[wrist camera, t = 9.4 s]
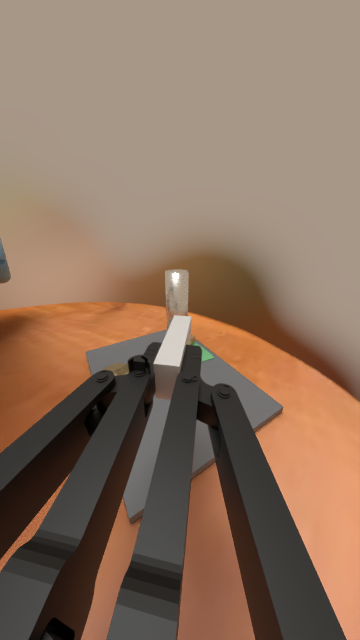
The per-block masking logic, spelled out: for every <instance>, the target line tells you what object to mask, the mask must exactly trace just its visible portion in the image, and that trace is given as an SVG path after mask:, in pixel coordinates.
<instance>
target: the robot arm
mask: <svg viewBox="0 0 360 640" xmlns="http://www.w3.org/2000/svg"><path fill="white" fill-rule="evenodd" d="M10 278H11V276H10V271H9V267H8V264H7V260H6V256H5V253H4V249H3V246H2V242H1V239H0V283H6V282H8V281H9V280H10ZM190 340H191V317H190V316H176V315H174V317H173V320H172V322H171V324H170V326H169V329H168V331H167V333H166V336H165V338H164V340H163V342H162V343H159V342H152V343H151V344H150V345H148V347H147V349H146V351H145V353H144V354H143V355H135V356H133V357H131V358H129V359H128V367H129V373H128V374H124V375H117V376H115V375H114V373H113V372H112V371H110V370H101V371H99V372H96V373H95V374H93V375H92V376H91V377H90V378H89V379H87V380H86V381H85V382H84V383H83V384H82V385H80V386H79V387H78V388H77V389H76V390H74V391H73V392H72V393H71V394H70V395H69V396H67V397H66V398H65V399H64V400H63V401H61V402H60V403H59V404H58V405H57V406H56V407H54V408H53V409H52V410H51V411H50V412H48V413H47V414H46V415H45V416H44V417H43V418H41V419H40V420H39V421H38V422H37V423H35V424H34V425H33V426H32V427H31V428H30V429H28V430H27V431H26V432H25V433H24V434H22V435H21V436H20V437H19V438H18V439H17V440H15V441H14V442H13V443H12V444H11V445H9V446H8V447H7V448H6V449H5V450H4V451H2V452H1V453H0V559H1V558H2V557H3V556H4V554H5V553H6V552H7V551H8V549H9V548H10V547H11V546H12V544H13V543H14V542H15V541H16V539H17V538H18V537H19V536H20V534H21V533H22V532H23V531H24V529H25V528H26V527H27V526H28V525H29V523H30V522H31V521H32V520H33V518H34V517H35V516H36V515H37V513H38V512H39V511H40V510H41V508H42V507H43V506H44V505H45V503H46V502H47V501H48V500H49V498H50V497H51V496H52V495H53V493H54V492H55V491H56V490H57V488H58V487H59V486H60V485H61V483H62V482H63V481H64V480H65V478H66V477H67V476H68V475H69V473H70V472H71V471H72V472H71V473H70V475H69V477H68V479H67V480H66V482H65V484H64V486H63V487H62V489H61V491H60V492H59V494H58V496H57V498H56V499H55V501H54V503H53V505H52V506H51V508H50V510H49V512H48V513H47V515H46V517H45V519H44V520H43V522H42V524H41V525H40V527H39V529H38V530H37V532H36V534H35V535H34V536H33V537H32V539H31V540H30V541H28V542H27V543H25V544H24V545H22V546H21V547H19V548H18V549H17V551H16V552H15V553H14V554H13V555H12V556H11V557H10V559H9V560H8V562H7V563H6V565H5V566H4V567H3V569H2V570H1V572H0V640H81V637H82V634H83V630H84V627H85V624H86V621H87V618H88V614H89V611H90V608H91V604H92V599H93V595H94V587H95V581H96V576H97V573H98V570H99V567H100V564H101V561H102V558H103V555H104V552H105V549H106V546H107V543H108V540H109V537H110V534H111V531H112V528H113V525H114V522H115V519H116V516H117V512H118V509H119V506H120V503H121V500H122V497H123V494H124V491H125V488H126V485H127V482H128V479H129V476H130V473H131V470H132V467H133V464H134V461H135V458H136V455H137V452H138V449H139V446H140V443H141V440H142V437H143V434H144V431H145V428H146V425H147V422H148V419H149V416H150V413H151V410H152V407H153V397H154V394H155V397H156V398H159V399H166V400H171V402H170V406H169V410H168V414H167V418H166V422H165V426H164V430H163V434H162V438H161V442H160V446H159V450H158V454H157V459H156V463H155V467H154V471H153V475H152V479H151V483H150V487H149V491H148V495H147V499H146V503H145V507H144V511H143V515H142V519H141V523H140V527H139V532H138V536H137V540H136V544H135V548H134V552H133V556H132V559H131V562H130V565H129V568H128V570H127V572H126V574H125V576H124V579H123V582H122V585H121V587H120V591H119V594H118V598H117V602H116V605H115V609H114V613H113V617H112V621H111V624H110V628H109V632H108V636H107V640H177V637H178V625H179V613H180V601H181V590H182V579H183V567H184V556H185V545H186V533H187V522H188V511H189V500H190V488H191V477H192V466H193V454H194V443H195V432H196V421H197V420H199V421H201V422H203V423H205V424H207V425H208V430H209V434H210V439H211V443H212V448H213V452H214V457H215V461H216V466H217V470H218V474H219V479H220V483H221V488H222V492H223V497H224V501H225V506H226V510H227V515H228V519H229V523H230V528H231V532H232V537H233V541H234V546H235V550H236V555H237V559H238V564H239V568H240V572H241V577H242V581H243V586H244V590H245V595H246V599H247V604H248V608H249V613H250V617H251V621H252V626H253V630H254V635H255V639H256V640H346V637H345V635H344V633H343V631H342V628H341V626H340V624H339V622H338V619H337V617H336V615H335V613H334V610H333V608H332V606H331V604H330V601H329V599H328V597H327V595H326V592H325V590H324V588H323V586H322V583H321V581H320V579H319V577H318V574H317V572H316V570H315V568H314V565H313V563H312V561H311V559H310V556H309V554H308V552H307V550H306V547H305V545H304V543H303V541H302V538H301V536H300V534H299V532H298V529H297V527H296V525H295V523H294V520H293V518H292V516H291V514H290V511H289V509H288V507H287V505H286V502H285V500H284V498H283V496H282V493H281V491H280V489H279V487H278V484H277V482H276V480H275V478H274V475H273V473H272V471H271V469H270V466H269V464H268V462H267V460H266V457H265V455H264V453H263V451H262V448H261V446H260V444H259V442H258V439H257V437H256V435H255V433H254V430H253V428H252V426H251V424H250V421H249V419H248V417H247V415H246V412H245V410H244V408H243V406H242V403H241V401H240V399H239V397H238V394H237V392H236V391H235V389H234V388H233V387H231V386H230V385H228V384H224V383H219V384H216V385H214V386H211V385H209V384H207V383H205V382H204V381H203V380H202V379H201V376H200V373H201V361H202V349H201V347H200V346H195V345H190Z"/></svg>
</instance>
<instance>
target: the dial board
mask: <svg viewBox="0 0 360 640" xmlns="http://www.w3.org/2000/svg"><path fill="white" fill-rule="evenodd" d="M166 333H167V330H163V331H159V332H156V333H152V334H149V335H145V336H141V337H138V338H134V339H130V340H127V341H123V342H119V343H116V344H112V345H109V346H105V347H101V348H98V349H94V350H90V351H87V352H86V355H87V359H88V363H89V367H90V370H91V374H92V375H93V374H95V373H96V372H99V371H101V370H103V369H104V368H105V367H107V366H109V365H112V364H116V363H126V364H128V359H129V358H131V357H133V356H135V355H143V354H144V353H145V351H146V349H147V347H148V345H150V344H151V343H152V342H159V343H162V342H163V340H164V338H165V336H166ZM190 345H195V346H200V347H201V349H202V361H201V373H200V376H201V379H202V380H203V381H204V382H205V383H207V384H209V385H211V386H214V385H216V384H219V383H224V384H228V385H230V386H231V387H233V388H234V389H235V391H236V392H237V394H238V397H239V399H240V401H241V403H242V406H243V408H244V410H245V412H246V415H247V417H248V419H249V421H250V424H251V426H252V428H253V430H254V432H256V431H257V430H258V429H260V428H261V427H262V426H264V425H265V424H266V423H268V422H269V421H270V420H272V419H273V418H274V417H276V416H277V415H279V414H280V413H281V412H282V410H283V406H282V405H281V404H279V403H278V402H277V401H275V400H274V399H273V398H272V397H270V396H269V395H268V394H266V393H265V392H264V391H262V390H261V389H260V388H259V387H257V386H256V385H255V384H253V383H252V382H251V381H249V380H248V379H247V378H246V377H244V376H243V375H242V374H240V373H239V372H238V371H236V370H235V369H234V368H233V367H231V366H230V365H229V364H227V363H226V362H225V361H223V360H222V359H221V358H220V357H218V356H217V355H216V354H214V353H213V352H212V351H211V350H209V349H208V348H207V347H205V346H204V345H203V344H201V343H200V342H199V341H198V340H196V339H195V342H194V343H192V344H190ZM170 402H171V400H166V399H159V398H156V397H155V394H154V397H153V407H152V410H151V413H150V416H149V419H148V422H147V425H146V428H145V431H144V434H143V437H142V440H141V443H140V446H139V449H138V452H137V455H136V458H135V461H134V464H133V467H132V470H131V473H130V476H129V479H128V482H127V485H126V488H125V491H124V494H123V498H124V501H125V505H126V509H127V513H128V517H129V521H130V524H132V523H133V522H135V521H136V520H137V519H139V518H140V517H141V516H142V515H143V511H144V507H145V503H146V499H147V495H148V491H149V487H150V483H151V479H152V475H153V471H154V467H155V463H156V459H157V454H158V450H159V446H160V442H161V438H162V434H163V430H164V426H165V422H166V418H167V414H168V410H169V406H170ZM214 462H215V457H214V452H213V448H212V443H211V439H210V434H209V430H208V425H207V424H205V423H203V422H201V421H199V420H197V421H196V432H195V443H194V454H193V466H192V477H191V479H192V478H194V477H195V476H196V475H198V474H199V473H200V472H202V471H203V470H205V469H206V468H207V467H209V466H210V465H211V464H213V463H214Z"/></svg>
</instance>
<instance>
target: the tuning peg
mask: <svg viewBox="0 0 360 640" xmlns="http://www.w3.org/2000/svg"><path fill="white" fill-rule="evenodd" d="M188 274H189V272H188V271H186V270H167V271H165V285H166V315H167V331H168V329H169V326H170V324H171V322H172V320H173V317H174V315H176V316H188ZM194 342H195V336H193V335H191V340H190V344H192V343H194ZM103 370H110V371H112V372H113V373H114V375H115V376H117V375H124V374H128V373H129V367H128V364H126V363H116V364H112V365H109V366H107V367H105V368H104V369H103Z"/></svg>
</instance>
